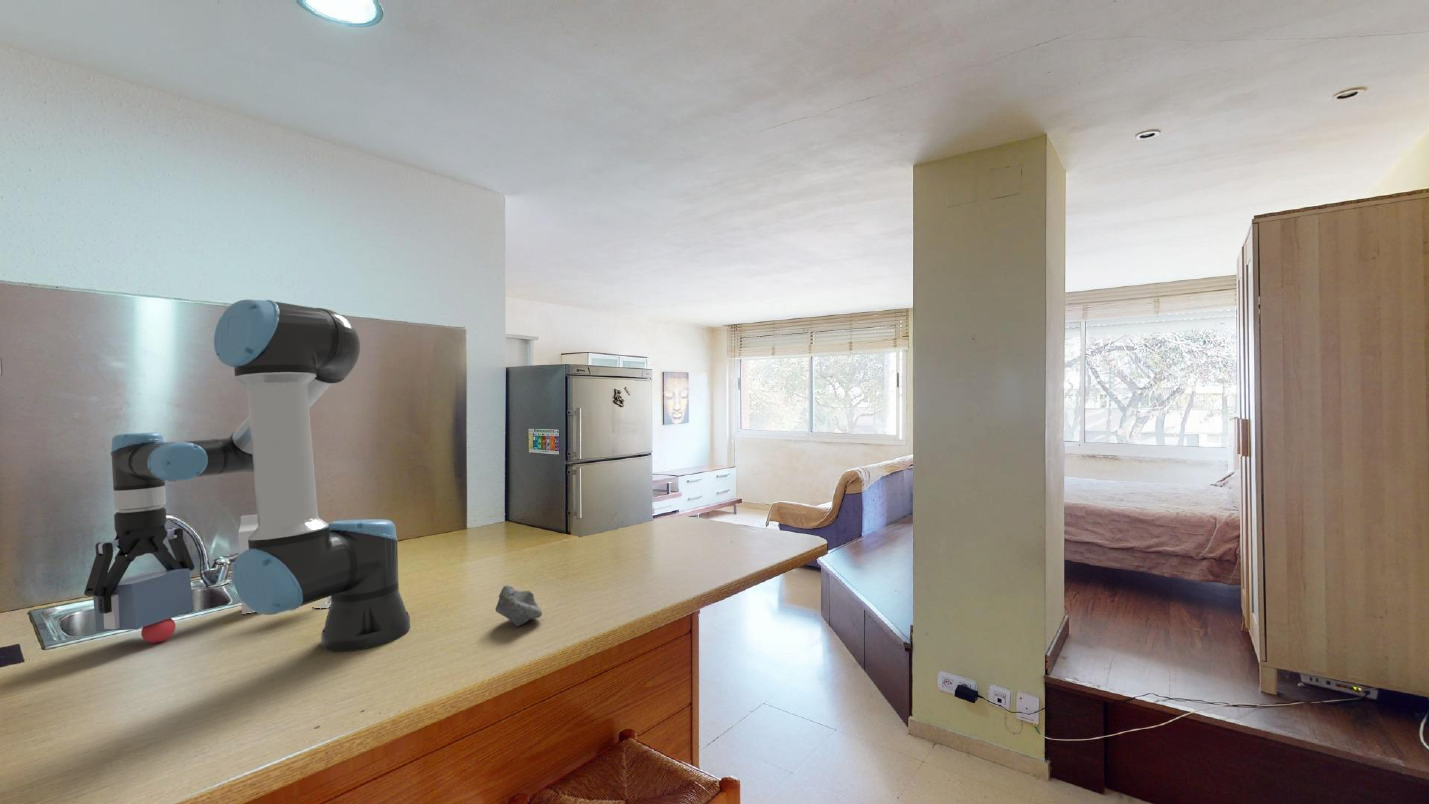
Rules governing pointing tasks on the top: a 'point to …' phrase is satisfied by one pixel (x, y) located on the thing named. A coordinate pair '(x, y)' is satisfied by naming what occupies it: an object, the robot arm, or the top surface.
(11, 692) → the top surface
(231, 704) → the top surface
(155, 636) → the ball
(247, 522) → the milk
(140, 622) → the blue gray block
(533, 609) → the grey rock
